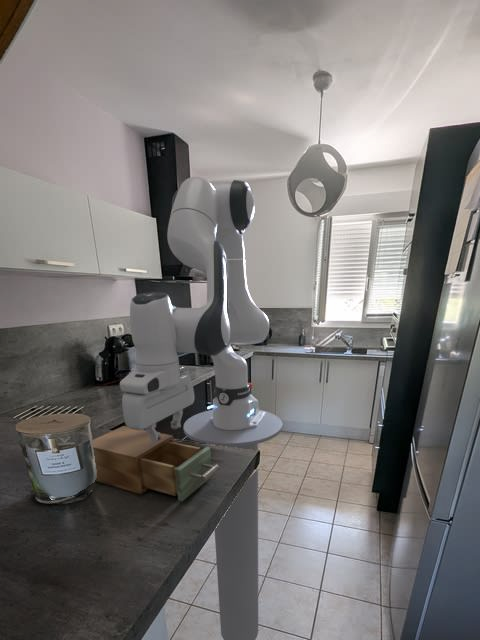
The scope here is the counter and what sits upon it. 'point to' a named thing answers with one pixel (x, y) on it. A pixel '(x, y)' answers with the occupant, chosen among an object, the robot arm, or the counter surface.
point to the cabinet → (124, 457)
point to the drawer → (188, 472)
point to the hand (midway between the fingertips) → (166, 434)
